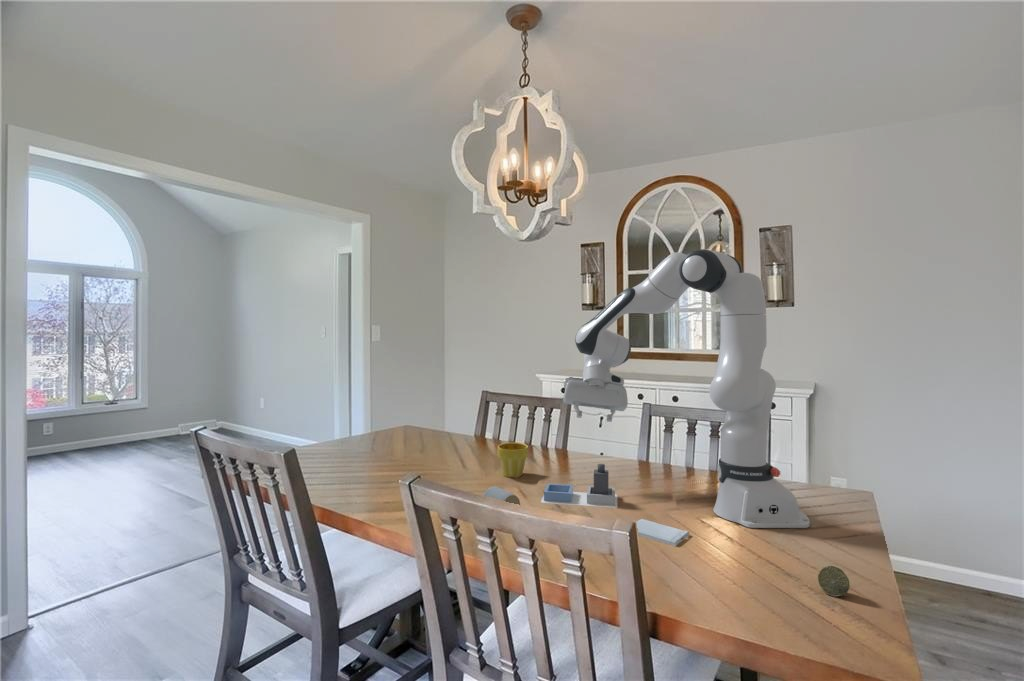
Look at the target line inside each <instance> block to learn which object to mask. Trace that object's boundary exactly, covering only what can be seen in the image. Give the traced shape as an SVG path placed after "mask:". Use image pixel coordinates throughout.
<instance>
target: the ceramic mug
mask: <svg viewBox="0 0 1024 681" xmlns="http://www.w3.org/2000/svg"><path fill="white" fill-rule="evenodd" d="M483 496H487V497H492V498H496V499H500V500H503V501H506V502H509V503H514V504H519V505H520V506H521V502H520V498H518V496H517V495H515V494H514V493H512V492H510V491H507V490H506V489H503V488H501V487H499V486H494V485H493V486H490V487H489V488H487V489H486V490H485V492H484V493H483V494H482V497H483Z"/></svg>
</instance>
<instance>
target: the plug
mask: <svg viewBox="0 0 1024 681" xmlns="http://www.w3.org/2000/svg"><path fill="white" fill-rule="evenodd" d="M593 486H594V494H601V495H608V487H609V469H606V465H605V463H597V468H596V469H594V470H593Z"/></svg>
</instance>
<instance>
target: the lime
mask: <svg viewBox="0 0 1024 681" xmlns="http://www.w3.org/2000/svg"><path fill="white" fill-rule="evenodd" d="M817 574H818V575H817V582H818V584H819V586H820V588H821V590H822V591H823V592H824V593H825V594H827V595H828V596H831V597H842V596H846V595H847V594H848V592H849V590H850V587H851V586H850V585H851V584H850V580H849V578H848V576H847V574H846V573H845V571H843V569H841V568H839V567H836V566H834V565H827V566H825V567H822V568H821V569H820V571H819V573H817Z"/></svg>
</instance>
